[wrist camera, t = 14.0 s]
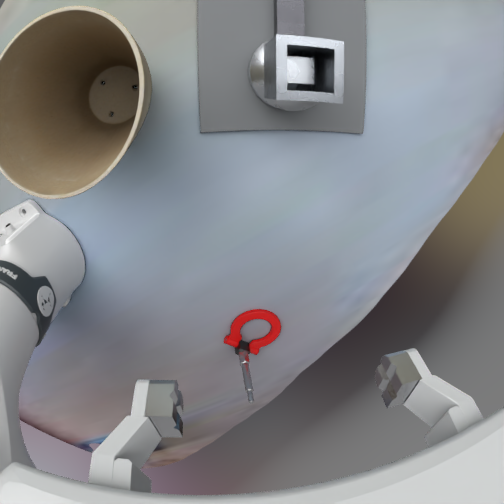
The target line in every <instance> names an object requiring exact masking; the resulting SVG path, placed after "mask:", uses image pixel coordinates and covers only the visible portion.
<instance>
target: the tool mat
mask: <svg viewBox="0 0 504 504" xmlns="http://www.w3.org/2000/svg"><path fill="white" fill-rule="evenodd" d="M304 22H305V36H306V37H315V38H323V39H331V40H337V41H344V92H343V104H339V103H328V102H319V103H317V104H316V105H314V106H312V107H310V108H308V109H305V110H300V111H287V110H282V109H279V108H275V107H273V106H270V105H268V104H267V103H265V102H264V101H262V100H261V99H260V98H259V97H258V96H257V95H256V94H255V92H254V91H253V89H252V87H251V85H250V82H249V78H248V66H249V62H250V59H251V57H252V55H253V54H254V52H255V51H256V50H257V49H258V48H259V47H260V46H261V45H262V44H263V43H264V42H265V41H267V40H268V39H270V38H272V37H274V0H198V75H199V104H200V127H201V133H202V132H217V131H239V130H311V131H333V132H348V133H361V134H363V128H364V113H365V92H366V17H365V0H304Z"/></svg>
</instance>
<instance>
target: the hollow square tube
mask: <svg viewBox="0 0 504 504" xmlns="http://www.w3.org/2000/svg"><path fill="white" fill-rule="evenodd" d="M287 54H288V55H303V56H311V58H314V84H311V91H294V90H287ZM343 92H344V41H337V40H331V39H323V38H315V37H306V36H294V35H280V34H276V35H275V36H274V37H273V38H272V39H271V40H269V41H268V42H267V43H266V44H265V45H264V98H267V99H273V100H294V101H314V102H328V103H339V104H343Z"/></svg>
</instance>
